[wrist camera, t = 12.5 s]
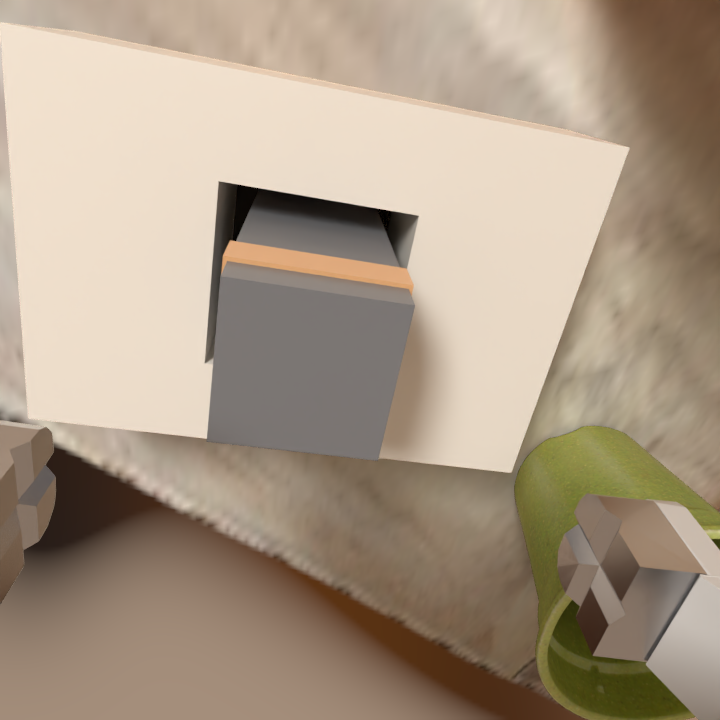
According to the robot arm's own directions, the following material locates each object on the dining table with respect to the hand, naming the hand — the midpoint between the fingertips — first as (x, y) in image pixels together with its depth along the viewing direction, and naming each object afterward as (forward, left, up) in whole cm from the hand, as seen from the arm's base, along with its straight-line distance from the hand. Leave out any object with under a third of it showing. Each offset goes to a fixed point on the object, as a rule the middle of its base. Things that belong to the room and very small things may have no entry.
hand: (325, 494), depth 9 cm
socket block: (0, 0, -14) cm, 14 cm away
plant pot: (-13, +9, -14) cm, 22 cm away
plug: (0, 0, -14) cm, 14 cm away
